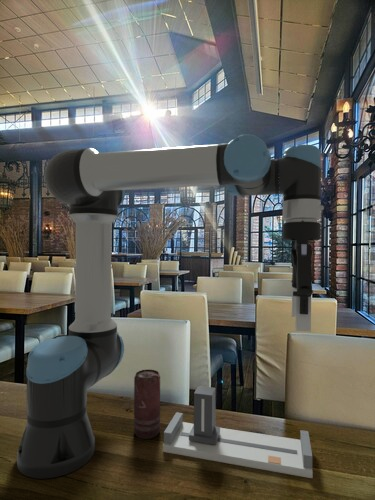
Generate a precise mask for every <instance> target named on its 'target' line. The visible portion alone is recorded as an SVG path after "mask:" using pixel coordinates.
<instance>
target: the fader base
mask: <svg viewBox="0 0 375 500" xmlns="http://www.w3.org/2000/svg"><path fill="white" fill-rule="evenodd" d="M183 420H184V413H182V412H175V414H174V415H173V417H172V419H171V420H170V422H169V423H168V425H167V427H166V428H165V430H164V431H163V444H162V452H164V453H169V454H173V455H174V454H175V455H180V456H184V457H189V458H190V457H191V458H196V459H201V460H206V461H207V460H208V461H212V462H213V461H214V462H219V463H223V464H224V463H225V464H230V465H235V466H239V467H240V466H242V467H246V468H251V469H252V468H253V469H258V470H264V471H267V472H268V471H269V472H274V473H281V474H286V475H291V476H296V477H304V478H308V479H313V478H314V477H313V473H314V472H313V470H314V469H313V453H312V446H311V441H310V434H309V431H308V430H304V429H303V430H301V429H300V431H299V432H300V438H299V439H297V438H291V437H284V436H277V435H270V434H264V433H258V432H253V431H252V432H250V431H246V430H245V431H244V430H237V429H230V428H224V427H220V434H219V437H218V440H217V444H216V445H213V444H207V443H201V442H195V441H189V433H190V431H191V429H192V427H193V425H194V423H192V422H191V423H190V422H185V421H183Z"/></svg>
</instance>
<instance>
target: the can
mask: <svg viewBox="0 0 375 500" xmlns="http://www.w3.org/2000/svg"><path fill="white" fill-rule="evenodd" d="M133 378H134V380H133V385H134V387H133V388H134V389H133V391H134V392H133V396H134V398H133V433H134V434H135V436H136V437H137V438H139V439H142V440H148V439H153V438H155V437H156V436H158V434H159V433H160V431H161V375H160V372H159V371H158V370H155V369H142V370H139V371H137V372H136V373H135V376H133Z"/></svg>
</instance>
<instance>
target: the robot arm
mask: <svg viewBox="0 0 375 500" xmlns="http://www.w3.org/2000/svg"><path fill="white" fill-rule="evenodd" d="M321 156H322V153H321V150H320V148H318V147H317V145H316V146H315V145H312V144H297V145H292V146H289V147H287V148H286V149H284V151H283V155H282V157H279V158H271V155H270V151H269V149H268V147H267V144H266V143H265V141H264V140H263V139H261V138H260V137H259V136H257V135H254V134H251V133H250V134H249V133H245V134H240V135H238V136H236V137H235V138H233V139H231V140H230V141H229V142H227V143H218V144H203V145H190V146H188V145H187V146H176V147H175V146H174V147H162V148H161V147H160V148H150V149H149V148H148V149H147V148H146V149H137V150H135V149H134V150H124V151H123V150H121V151H109V152H108V151H107V152H106V151H105V152H99V151H98V150H96V149H95V148H92V147H89V148H88V147H87V148H78V149H77V148H76V149H68V150H63V151H60V152H58V153H57V154H55V155H54V156H52V157H51V158H50V160H49V161H48V162H47V164H46V167H45V169H44V181H45V184H46V188H47V189H48V191H49V193H50V194H51V196H53V198H55V199H56V200H57V201H59V202H62V203H64V204H66V205H69V207H68V209H69V210H68V211H69V213H68V214H69V215H68V216H69V218H71V219H72V221H73V222H74V223H75V288H74V289H75V291H74V292H75V293H74V295H75V301H74V302H75V303H74V304H75V305H74V309H75V310H74V311H75V312H74V313H75V315H74V316H75V319H74V321H73V322H72V323H70V325H69V326H68V335H62V336H57V337H55V338H49V339H46V340H44V341H41V342H39V343H38V344H36V345H35V346H34V347H32V349H30V351H29V353H28V356H27V365H26V368H25V376H26V425H25V427H24V430H23V434H22V437H21V440H20V443H19V446H18V449H17V452H16V466H17V467H16V468H17V470H18V471H19V472H20V473H21V474H22V475H24V476H25V477H28V478H32V479H39V480H40V479H53V478H58V477H62V476H66V475H68V474H70V473H72V472H74V471H77V470H78V469H80V468H82V467H83V466H85V465H86V464H87V463H88V462H89V461H90V460H91V458H92V457H93V455H94V453H95V451H96V447H95V446H96V440H95V439H96V438H95V433H94V432H93V429H92V425H91V421H90V419H89V416H88V413H87V411H88V410H87V405H88V402H87V400H88V399H87V397H88V396H87V393H88V390H89V389H90V388H91V387H93V386H95V384H97V383H98V382H100V381H101V380H102V379H104V378H106V377H107V376H109V375H110V374H112V373H113V372H114V371H115V370H116V368H117V367H118V366H119V365H120V363H121V362H122V360H123V358H124V355H125V354H124V353H125V344H124V339H123V337H122V336H120V333H119V331H118V323H116V322H115V320H113V319H112V224H113V223H114V222H115V221H116V220H117V219H118V217H119V216H118V214H119V213H118V209H119V208H120V206H121V205H122V204H123V203H124V200H125V196H126V190H127V191H128V190H131V191H132V190H148V189H150V190H153V189H171V188H191V187H211V186H212V187H214V186H226V187H225V188H226V190H227V191H226V192H227V194H228V195H229V196H235V197H237V196H238V197H239V196H240V197H247V196H263V195H264V196H267V195H277V196H278V195H282V197H283V198H282V221H284V223H283V224H282V240H283V241H287V242H294V245H292V249H291V250H290V257H291V268H292V275H291V276H292V277H291V287H292V288H291V317H292V318H295V326H294V327H295V331H296V332H308V333H311V331H312V296H313V293H314V290H313V277H312V276H313V275H312V274H313V273H312V258H313V249H312V244H310V243H309V242H317V241H319V240H321V238H322V237H321V236H322V235H321V233H322V232H321V231H322V230H321V225H322V224H321V223H320V222H318V221H319V220H321V213H322V212H321V211H324V209H325V206H324V205H321V199H322V198H321V197H322V170H323V168H322V159H321Z"/></svg>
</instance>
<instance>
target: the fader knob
mask: <svg viewBox="0 0 375 500" xmlns="http://www.w3.org/2000/svg"><path fill="white" fill-rule="evenodd" d="M216 392H217V391H216V387H211V386H202V385H198V386H197V387H196V389H195V391H194V392H193V424H194V425H193V427H192V429H191V431H190V433H189V441H195V442H201V443H207V444H213V445H216V444H217V440H218V437H219V434H220V428H221V427H220V426H217V425H216Z"/></svg>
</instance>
